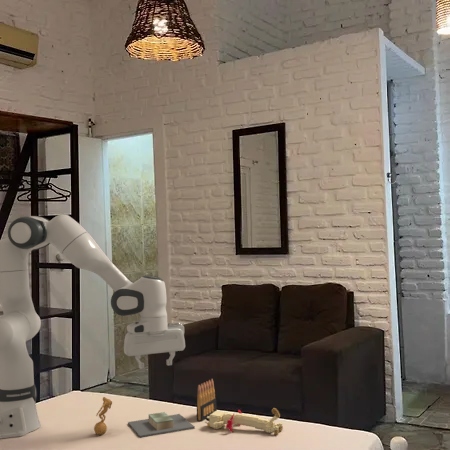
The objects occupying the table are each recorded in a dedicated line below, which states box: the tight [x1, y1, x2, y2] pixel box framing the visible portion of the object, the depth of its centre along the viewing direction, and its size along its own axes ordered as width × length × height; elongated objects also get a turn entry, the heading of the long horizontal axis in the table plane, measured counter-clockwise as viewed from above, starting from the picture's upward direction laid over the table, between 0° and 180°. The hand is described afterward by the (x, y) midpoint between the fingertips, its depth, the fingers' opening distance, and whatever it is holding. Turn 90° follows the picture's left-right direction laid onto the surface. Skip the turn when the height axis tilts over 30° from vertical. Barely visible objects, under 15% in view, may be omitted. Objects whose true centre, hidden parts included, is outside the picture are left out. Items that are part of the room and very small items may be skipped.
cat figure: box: [204, 407, 284, 436], centre depth 194 cm, size 10×9×25 cm
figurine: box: [93, 396, 113, 436], centre depth 195 cm, size 8×6×12 cm
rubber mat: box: [127, 413, 196, 438], centre depth 201 cm, size 18×16×1 cm
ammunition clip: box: [196, 378, 218, 422], centre depth 209 cm, size 11×2×12 cm, turn 152°
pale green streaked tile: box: [148, 411, 174, 430], centre depth 200 cm, size 6×2×10 cm
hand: (155, 366), depth 202 cm, fingers open, 8 cm apart
